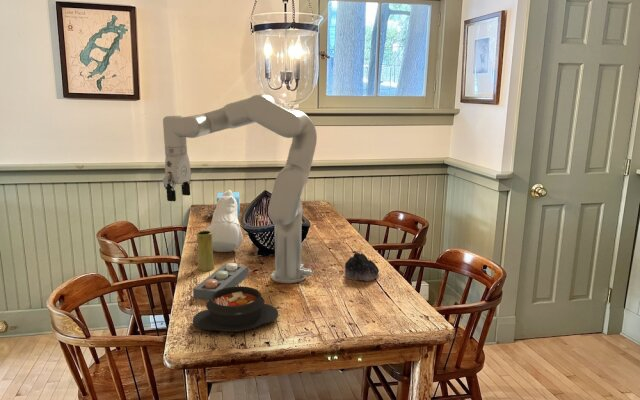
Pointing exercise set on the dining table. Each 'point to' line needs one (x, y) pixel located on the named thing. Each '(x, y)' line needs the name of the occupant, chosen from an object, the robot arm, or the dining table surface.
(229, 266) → the cream rounded piece
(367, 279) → the crystal cluster
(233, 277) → the button panel
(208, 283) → the terracotta button
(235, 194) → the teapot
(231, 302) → the casserole
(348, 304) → the dining table surface
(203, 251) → the vase
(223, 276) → the sage button
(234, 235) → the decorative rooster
